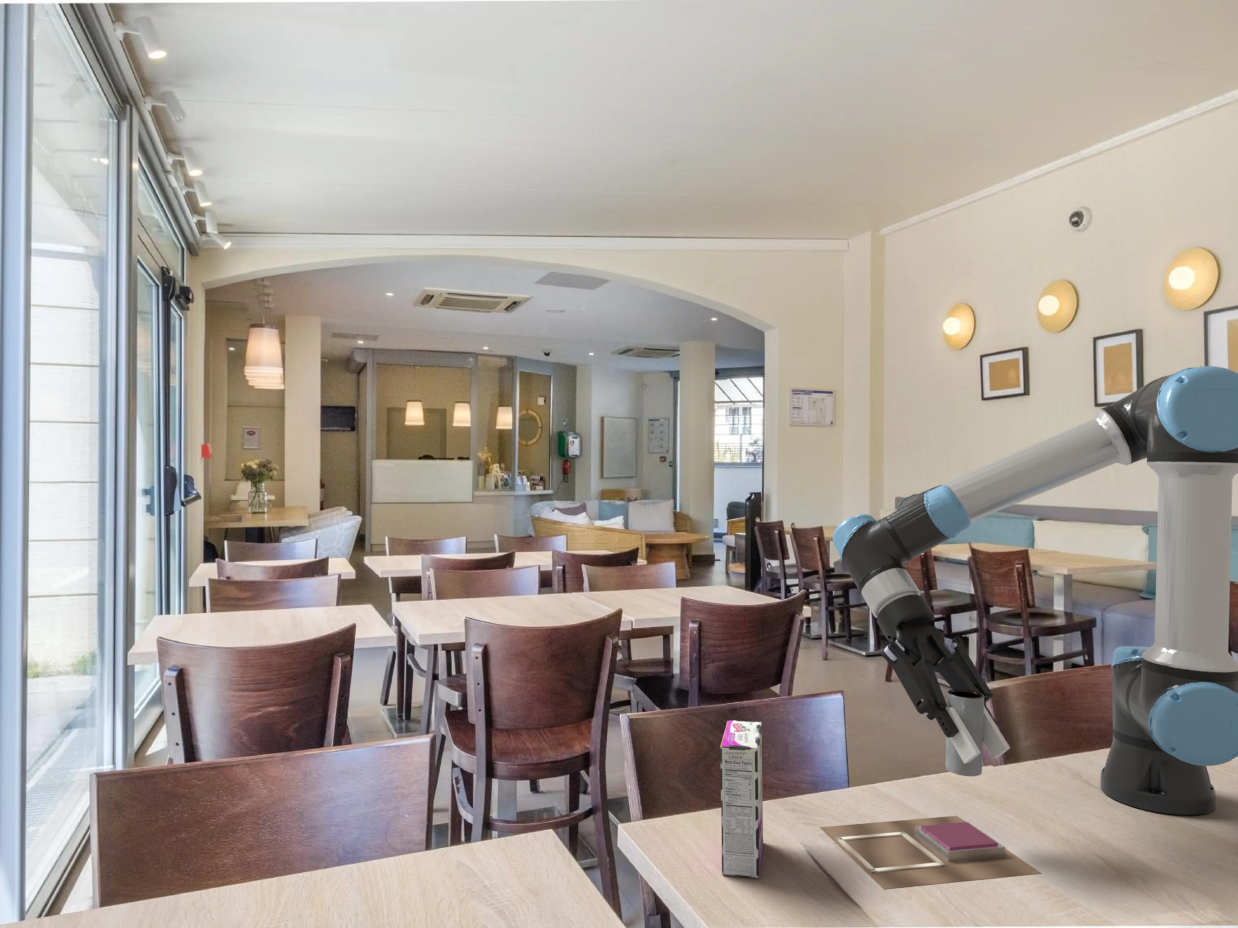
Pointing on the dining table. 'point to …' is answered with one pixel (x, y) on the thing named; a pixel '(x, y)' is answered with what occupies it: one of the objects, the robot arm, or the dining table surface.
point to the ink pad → (959, 841)
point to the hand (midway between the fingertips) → (987, 755)
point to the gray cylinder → (972, 717)
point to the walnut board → (915, 855)
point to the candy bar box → (741, 799)
